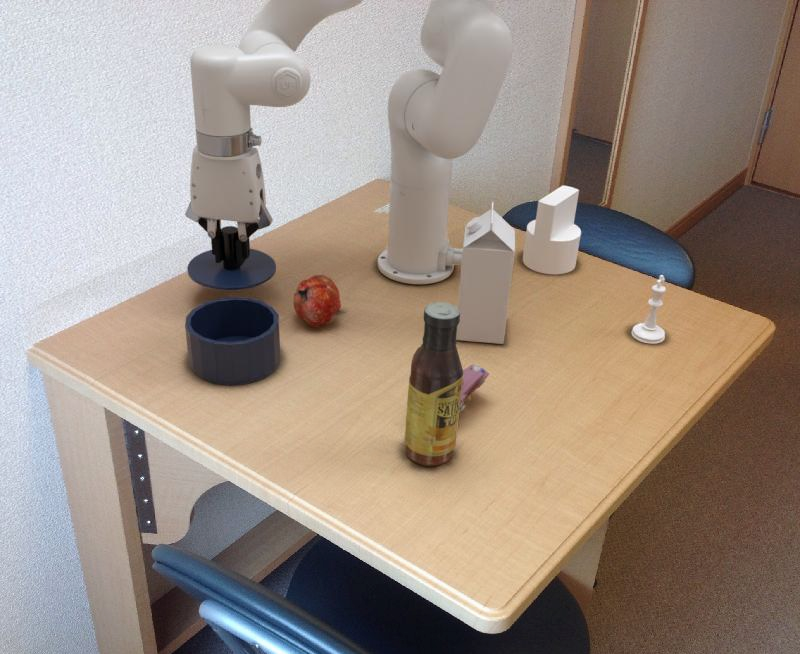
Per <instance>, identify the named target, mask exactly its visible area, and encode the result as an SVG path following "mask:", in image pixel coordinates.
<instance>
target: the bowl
mask: <svg viewBox="0 0 800 654" xmlns="http://www.w3.org/2000/svg"><path fill="white" fill-rule="evenodd" d="M184 328H185V329H184V330H185V337H186V347H187V356H188V363H189V366H190V369H191V371H192V372H193V374H195V376H197V377H198V378H200V379H201V380H203V381H206V382H208V383H211V384H215V385H220V386H241V385H242V386H243V385H248V384H253V383H255V382H259V381H261V380H264V379H266V378H268V377H269V376H271V375H272V374H273V373H274V372H275V371H276V370H277V369H278V367H279V366H280V363H281V341H280V339H281V337H280V314H278V311H277V310H276V309H275V308H274V307H273V306H272V305H270V304H268V303H266V302H264V301H262V300H259V299H256V298H251V297H242V296H241V297H240V296H239V297H238V296H231V297H230V296H229V297H221V298H215V299H213V300H209V301H205V302H203V303H201V304H199V305H197V306H196V307H194V308H193V309H192V310H191V311H190V312H189V313H188V314H187V316H186V317H185V322H184Z"/></svg>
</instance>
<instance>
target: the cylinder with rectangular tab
mask: <svg viewBox="0 0 800 654" xmlns="http://www.w3.org/2000/svg"><path fill="white" fill-rule="evenodd" d="M579 193H580V189H578V188H576V187H572V186H568V185H563V184H562V185H561V186H559V187H558V188H557V189H555V190H553V191H551V192H550V193H549V194H547V195H545V196H544V197H542V198H541V199H539V200H537V209H536V216H535V219H533V220H531V221H529V222H528V224H527V225H526V230H525V231H526V232H525V238H524V245H523V246H524V247H523V253H522V262H523V264H524V265H525V266H526V267H527V268H529V270H532V271H533V272H537V273H540V274H544V275H564V274H568V273H570V272H572V271H574V270H575V268H576V265H577V259H578V255H579V247H580V241H581V236H582V230H581V228H580V226H578V225H577V224H575V218H576V211H577V208H578V207H577V206H578V199H579V195H580V194H579Z"/></svg>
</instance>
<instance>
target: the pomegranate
mask: <svg viewBox="0 0 800 654" xmlns="http://www.w3.org/2000/svg"><path fill="white" fill-rule="evenodd" d="M340 294H341V293H340V291H339V288H338V286H337V284H336V283H335V282H334V280H333V279H332V278H330V277H329V276H326V275H324V274H323V275H322V274H315V275H313V276H310V277H309V278H307V279H303V280H301V281H300V282H299V283H298V286H297V287H296V292H295V293H294V294H293V299H292V304H293V308H294V311H295V313H296V315H297V316H298V318H300V319H301V320H304V321H305V322H306V323H307V324H308V325H310V326H312V327H316V328H317V327H325V326H326V325H328V324H330V323H331V322H333V320H334V315H335V314H337V313H340V312H341V308H342V301H341V295H340Z"/></svg>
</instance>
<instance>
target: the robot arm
mask: <svg viewBox="0 0 800 654" xmlns="http://www.w3.org/2000/svg"><path fill="white" fill-rule="evenodd" d="M496 1H497V0H431V1H430V4H429V6H428V9H427V12H426V14H425V17H424V20H423V23H422V26H421V29H420V37H419V38H420V39H419V40H420V44H421V48H422V50H423V51H424V53H425V55H426V56H427V57H428V58H429V59H430V60H432V61H433V62H434V63H435V64H437V66H440V67H441V68H442V69H441V73H440V74H439V73H437V72H435V71H432V70H429V69H423V68H417V69H411V70H409V71H407V72H404V73H403V74H402V75H400V76H399V77H398V79H396V81H395V82H394V84H393V85H392V87H391V89H390V92H389V95H388V101H387V120H388V121H387V122H388V129H389V139H390V178H389V204H388V228H387V229H388V232H387V249H385V250H383V251H382V252H381V253H380V254H379V256H378V258H377V268H378V270H379V271H380V273H381V274H382V275H383V276H385V277H387V278H388V279H390V280H392V281H395V282H399V283H402V284H410V285H429V284H430V285H431V284H434V283H435V284H436V283H440V282H442V281H444V280H445V279H448V278H449V277H451V275H452V274H453V272H454V267H455V265H456V266H461V265H462V254H463V248H460V247H459V248H455V247H453V246H452V245H450V237H448V223H449V211H450V198H451V186H452V175H453V159H454V160H455V159H457V158H460V157H463V156H464V155H466V154H467V153H469V152H470V151H471V150H472V149H473V147H475V145H476V144H477V143H478V142H479V139H480V137H481V136H482V134H483V132H484V130H485V127H486V126H487V123H488V120H489V118H490V116H491V113H492V111H493V108H494V106H495V103H496V101H497V98H498V96H499V93H500V92H501V88H502V86H503V84H504V81H505V78H506V75H507V73H508V71H509V68H510V65H511V62H512V61H511V60H512V55H513V54H512V53H513V41H512V35H511V31H510V29H509V27H508V25H507V24H506V22H505V21H504V20H503V19H502V18H501V17H500V16H499V15H497V14H496V13H494V12H493V11H494V7H495V4H496ZM362 2H364V0H266V1H265V2H264V4H263V5H262V7H261V8H260V9H259V11H258V13H257V14H256V16H255V17H254V19H253V20H252V22H250V25H249V26H248V28H247V30H246V31H245V33H244V34H243V36H242V38H241V40H240V42H239V45H238V47H236V46H233V45H229V44H207V45H203V46H200V47H198V48H196V49H195V50H194V51H193V52H192V53H191V56H190V60H189V61H190V76H191V89H192V101H193V103H192V104H193V113H194V115H193V116H194V126H195V138H196V139H195V140H196V145H195V146H194V147H193V148H192V153H191V163H190V177H189V179H190V181H189V183H190V184H189V186H190V187H189V188H190V189H189V190H190V193H189V194H190V201H189V203H188V205H187V208H186V211H185V213H184V215H185V217H186V218H187V219H189V220H191V221H193V222H195V223H198V225H199V226H200V227H201V228H202V229H203V230H204V231H205V232H206V233H207V236H208V238H210V243H211V250H212V254H213V255H215V261H216V263H220V262H222V260H223V255H222V241H221V229H222V221H228V222H229V221H230V222H236V225H237V226H236V227H237V228H238V234H239V235H238V239H237V241H236V256H237V264H238V265H240V266H242V265H243V263H244V262H245V260H246V258H249V256H250V249H251V246H250V245H251V244H250V237H251V236H253V235H254V234H255V233H256V232H257V231H260V230H263V229H265V228H268V227H270V226H271V225H272V223H273V221H274V220H273V217H272V216H271V214H270V213H271V212H269V209H268V208H267V197H266V187H265V179H264V171H263V167H262V166H263V165H262V161H261V158H260V153H259V150H258V148H257V147H260V146H262V136H261V135H257V134H254V131H253V127H252V126H251V125H252V121H251V106H259V107H260V106H261V107H268V108H270V107H271V108H286V107H291V106H294V105H296V104H298V103H300V102H301V101H302V100H303V99H304V98H305V97H306V96H307V94H308V92H309V90H310V87H311V79H312V78H311V72H310V70H309V68H308V65H307V64H306V62H305V61H304V59H302V57H301V56H300V55H299V54H298V53H296V51H297V50H298V48H299V46H300V45H301V43H302V42H303V40H304V39H305V38H306V36H307V35H308V34H309V33H310V32H311V31H312V30H313V29H314V28H315V27H316V26H317V25H318V24H319V23H320V22H322V21H323V20H325V19H327V18H328V17H330V16H333V15H336V14H338V13H341V12H346V11H348V10H350V9H353V8H355V7H356V6H359V5H360V4H362Z"/></svg>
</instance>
